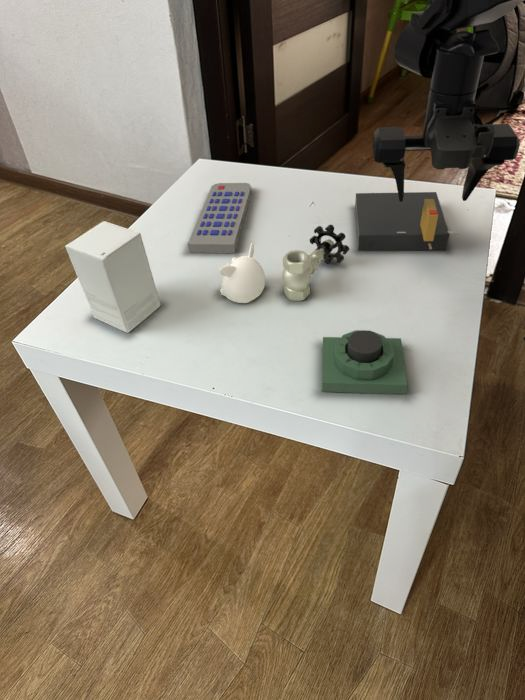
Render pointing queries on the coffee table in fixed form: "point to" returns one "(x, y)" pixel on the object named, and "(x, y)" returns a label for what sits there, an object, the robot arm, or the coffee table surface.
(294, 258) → the valve
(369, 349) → the button
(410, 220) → the panel
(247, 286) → the figurine
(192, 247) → the remote control
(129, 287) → the white packaging box
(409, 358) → the coffee table surface
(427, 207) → the tap handle
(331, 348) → the button box
